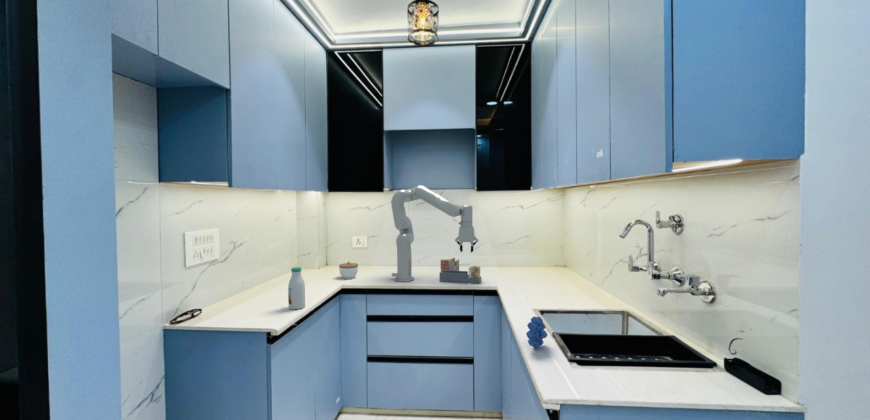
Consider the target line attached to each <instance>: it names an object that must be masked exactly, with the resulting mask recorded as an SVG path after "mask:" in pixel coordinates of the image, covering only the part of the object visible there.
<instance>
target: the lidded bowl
mask: <svg viewBox="0 0 870 420" xmlns="http://www.w3.org/2000/svg"><path fill="white" fill-rule="evenodd" d="M338 267H339V274H340V276H341V277H342V278H343V280H344V279H345V280H351V278H352V279H354V278H355V277H356V275H357V274H358V270H359V264H358V263H355V262H350V261H347V262H346V263H345V262H344V263H341V264H339V265H338Z"/></svg>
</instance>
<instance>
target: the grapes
mask: <svg viewBox="0 0 870 420" xmlns="http://www.w3.org/2000/svg"><path fill="white" fill-rule="evenodd" d="M526 325H527V328H528V329H529V330H527V332H526V333H525V335H526V337H527V339H528V340H527V343H528V344H529V346H530V347H532V348H533V349H535V350H537V349H539V348H540V346H541V347H542V345H543V344H544V343H545V342H544V339H546V338H547V337H548V333H547V331H546V330H545V329H546V325H545V323H544V321H543V319H542V317H541V316H532V317H531V318H530V321H529V322H527V324H526Z"/></svg>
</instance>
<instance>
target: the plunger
mask: <svg viewBox="0 0 870 420" xmlns="http://www.w3.org/2000/svg"><path fill="white" fill-rule="evenodd" d="M471 267H472V266H469V267H468V274H466V276H469V278H471Z"/></svg>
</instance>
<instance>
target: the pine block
mask: <svg viewBox="0 0 870 420" xmlns="http://www.w3.org/2000/svg"><path fill="white" fill-rule="evenodd" d="M470 267H471V278H474V279H479V278H480V276H481V266H480V265H477V266H476V265H471V266H470Z"/></svg>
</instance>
